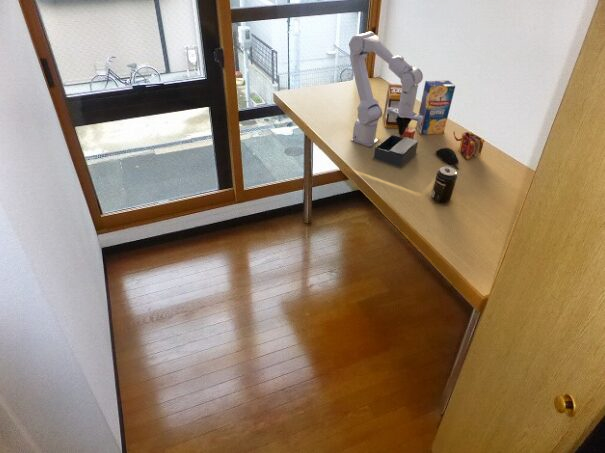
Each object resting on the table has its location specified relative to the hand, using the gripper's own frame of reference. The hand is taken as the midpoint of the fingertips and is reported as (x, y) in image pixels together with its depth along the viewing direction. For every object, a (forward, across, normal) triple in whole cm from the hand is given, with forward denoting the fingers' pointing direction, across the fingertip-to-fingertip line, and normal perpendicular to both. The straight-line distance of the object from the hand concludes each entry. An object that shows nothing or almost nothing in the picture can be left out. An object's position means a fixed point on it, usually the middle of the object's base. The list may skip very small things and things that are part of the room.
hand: (401, 134), depth 173 cm
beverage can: (+10, +27, -21) cm, 36 cm away
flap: (+4, +3, -2) cm, 5 cm away
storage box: (+10, 0, -2) cm, 10 cm away
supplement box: (+10, -15, +30) cm, 35 cm away
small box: (+10, -2, +13) cm, 16 cm away
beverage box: (+10, +2, +31) cm, 32 cm away
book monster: (+10, +22, +18) cm, 30 cm away
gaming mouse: (+10, +19, +9) cm, 23 cm away
